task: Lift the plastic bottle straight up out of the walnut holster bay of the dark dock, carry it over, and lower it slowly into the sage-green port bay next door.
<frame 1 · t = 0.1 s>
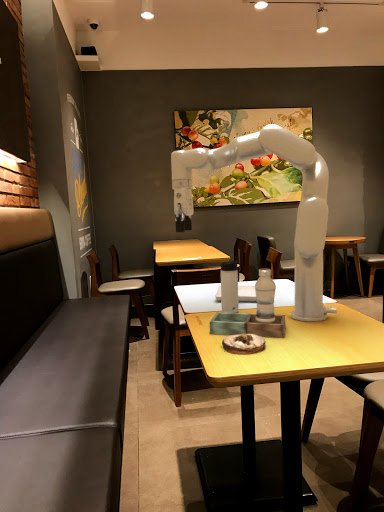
hand: (184, 231, 149), 31 cm above the table, tool pointing down, fingers open, 9 cm apart
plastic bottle: (265, 331, 127), resting in dock
salad plate: (241, 298, 174), on the table
sushi roll: (243, 348, 114), on the table
travel mug: (230, 314, 149), on the table
dock: (248, 330, 128), on the table
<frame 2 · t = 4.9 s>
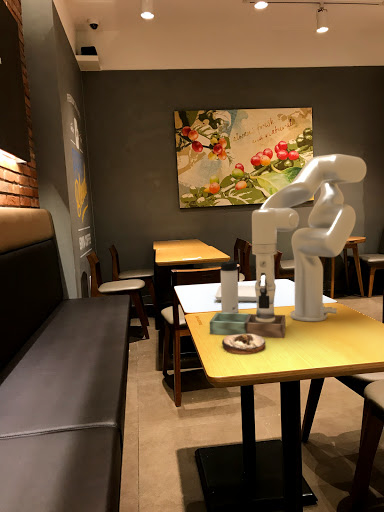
hand: (265, 305, 126), 9 cm above the table, tool pointing down, fingers closed on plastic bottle, 6 cm apart
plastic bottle: (265, 331, 127), resting in dock, touching gripper
everything else where it was.
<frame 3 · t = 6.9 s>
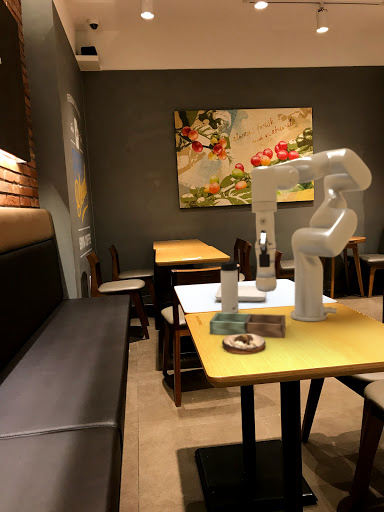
hand: (265, 264, 125), 21 cm above the table, tool pointing down, fingers closed on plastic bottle, 6 cm apart
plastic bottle: (266, 292, 126), point 13 cm above the table, touching gripper
everything else where it was.
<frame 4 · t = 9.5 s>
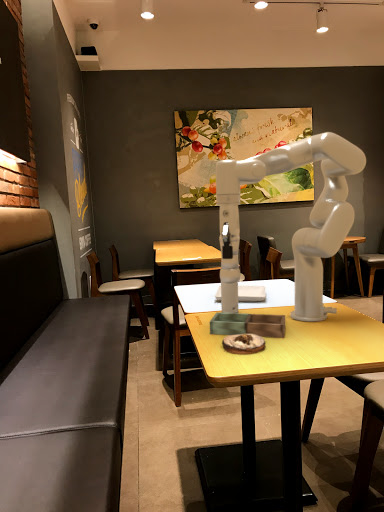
hand: (229, 256, 127), 24 cm above the table, tool pointing down, fingers closed on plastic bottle, 6 cm apart
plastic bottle: (230, 283, 128), point 15 cm above the table, touching gripper
everything else where it was.
when the fingers open (10 cm above the table, at t = 12.8 s): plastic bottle drops 1 cm, resting in dock.
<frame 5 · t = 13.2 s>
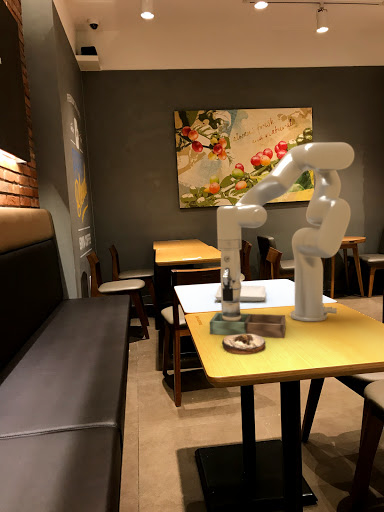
hand: (230, 297, 129), 11 cm above the table, tool pointing down, fingers open, 9 cm apart
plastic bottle: (232, 329, 130), resting in dock
everything else where it was.
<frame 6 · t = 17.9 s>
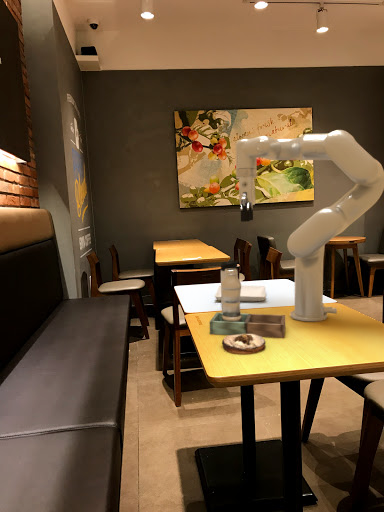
hand: (247, 220, 148), 34 cm above the table, tool pointing down, fingers open, 9 cm apart
nothing on the table moved.
at the end: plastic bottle 0.4 cm from the target spot on the dock, point 0.0 cm above the dock's base; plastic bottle tilted 0°; the gripper is holding nothing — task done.
